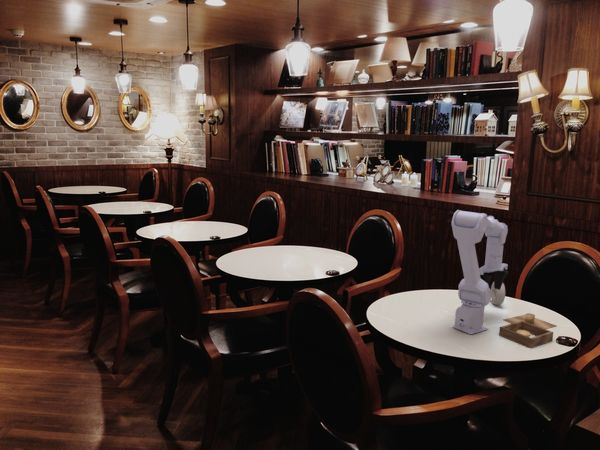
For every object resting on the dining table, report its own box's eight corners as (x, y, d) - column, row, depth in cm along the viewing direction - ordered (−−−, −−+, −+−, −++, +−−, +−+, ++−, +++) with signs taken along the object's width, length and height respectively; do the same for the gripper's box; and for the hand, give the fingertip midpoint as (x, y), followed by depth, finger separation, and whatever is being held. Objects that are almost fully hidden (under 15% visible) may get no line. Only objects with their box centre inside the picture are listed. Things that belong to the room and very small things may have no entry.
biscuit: (525, 338, 179) (525, 335, 179) (513, 334, 183) (514, 331, 182) (532, 335, 182) (533, 333, 182) (520, 331, 185) (521, 328, 185)
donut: (505, 309, 207) (507, 284, 205) (496, 308, 207) (498, 283, 206) (497, 300, 217) (499, 277, 215) (488, 300, 217) (490, 276, 215)
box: (530, 348, 171) (531, 339, 170) (498, 335, 180) (499, 326, 180) (552, 340, 177) (553, 332, 176) (520, 328, 187) (521, 320, 186)
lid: (533, 334, 184) (534, 323, 183) (502, 321, 195) (503, 311, 194) (556, 327, 191) (558, 317, 190) (525, 316, 202) (526, 306, 201)
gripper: (490, 259, 185) (487, 296, 188) (516, 254, 193) (512, 290, 196) (474, 255, 191) (470, 291, 194) (499, 250, 199) (496, 285, 202)
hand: (490, 290), depth 195 cm, fingers open, 7 cm apart
